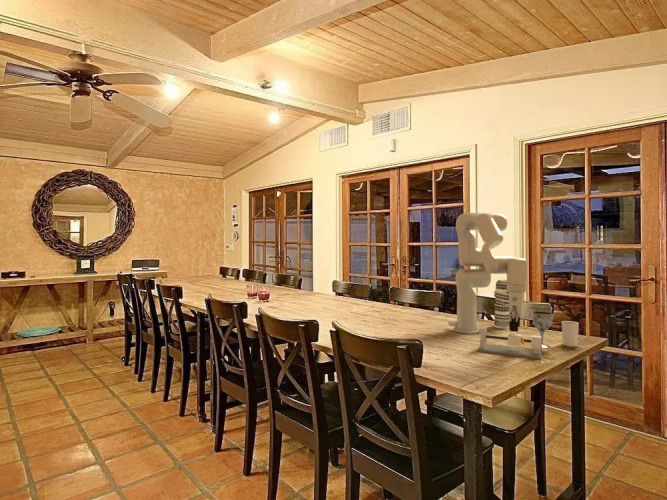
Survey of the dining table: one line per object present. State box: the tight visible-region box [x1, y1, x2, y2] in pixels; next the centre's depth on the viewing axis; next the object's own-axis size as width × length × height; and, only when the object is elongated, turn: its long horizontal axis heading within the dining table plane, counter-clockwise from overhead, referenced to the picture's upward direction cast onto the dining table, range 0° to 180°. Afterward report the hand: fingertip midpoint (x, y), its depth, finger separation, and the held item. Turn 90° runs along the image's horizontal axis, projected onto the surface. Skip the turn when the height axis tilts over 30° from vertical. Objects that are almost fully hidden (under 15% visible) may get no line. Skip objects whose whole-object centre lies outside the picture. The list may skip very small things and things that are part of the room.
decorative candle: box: [493, 279, 510, 330], centre depth 231 cm, size 9×9×25 cm
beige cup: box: [561, 320, 579, 347], centre depth 194 cm, size 7×7×10 cm
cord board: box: [477, 326, 543, 360], centre depth 182 cm, size 24×12×9 cm, turn 63°
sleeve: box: [507, 332, 523, 347], centre depth 181 cm, size 5×4×4 cm
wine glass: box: [531, 310, 553, 349], centre depth 191 cm, size 8×8×15 cm
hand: (514, 328), depth 181 cm, fingers open, 9 cm apart
